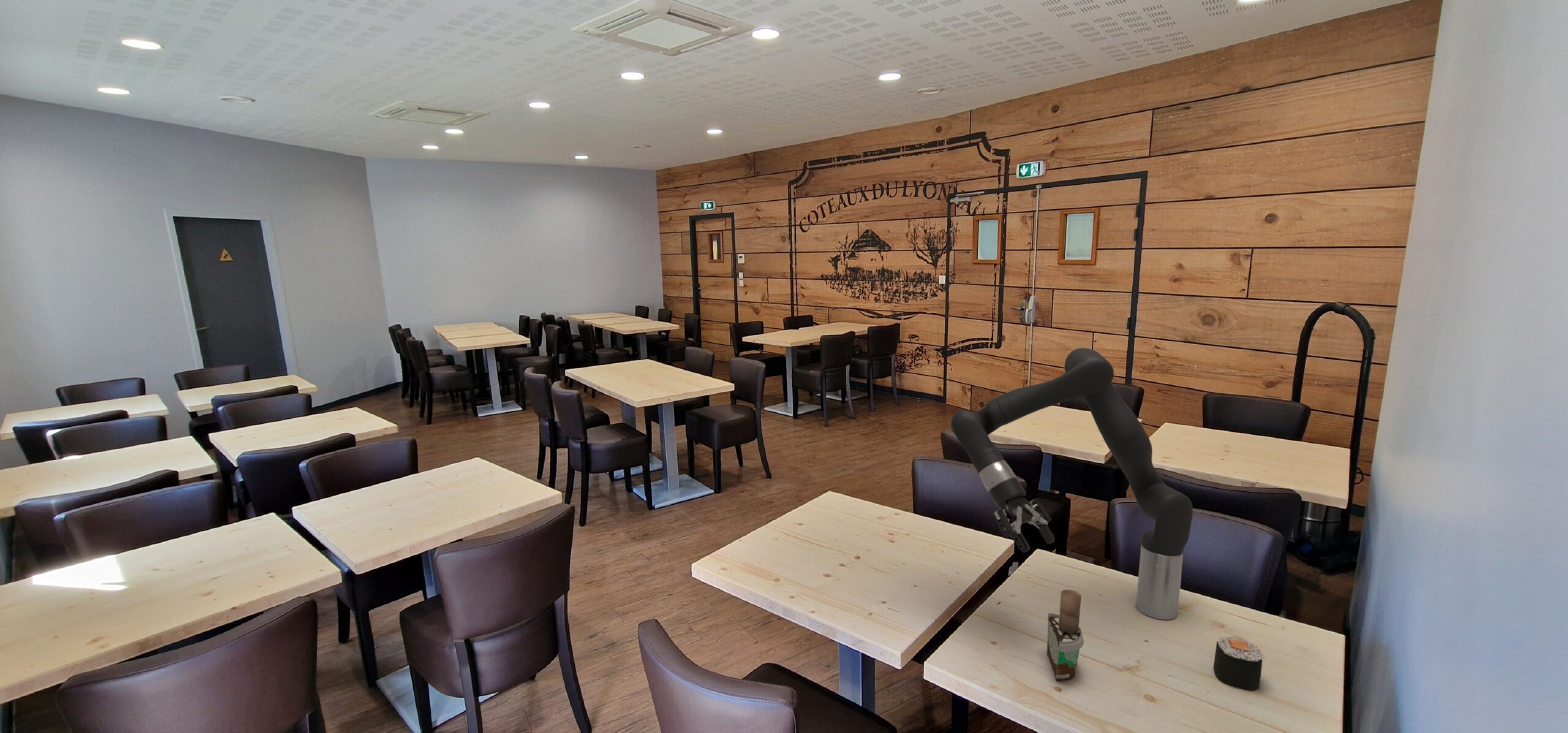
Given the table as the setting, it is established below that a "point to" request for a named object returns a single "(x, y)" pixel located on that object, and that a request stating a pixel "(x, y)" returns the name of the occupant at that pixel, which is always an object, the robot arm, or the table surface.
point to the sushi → (1238, 663)
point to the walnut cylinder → (1069, 611)
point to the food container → (1062, 649)
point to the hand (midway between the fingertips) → (1039, 546)
